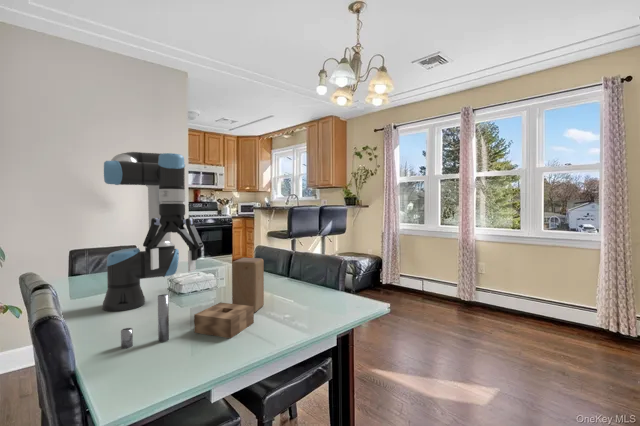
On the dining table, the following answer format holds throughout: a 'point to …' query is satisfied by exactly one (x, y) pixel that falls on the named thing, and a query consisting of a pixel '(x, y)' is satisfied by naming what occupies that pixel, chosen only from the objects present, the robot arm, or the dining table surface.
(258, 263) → the wooden block
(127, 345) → the short pin
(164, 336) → the long pin
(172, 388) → the dining table surface
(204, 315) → the socket block
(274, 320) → the dining table surface
